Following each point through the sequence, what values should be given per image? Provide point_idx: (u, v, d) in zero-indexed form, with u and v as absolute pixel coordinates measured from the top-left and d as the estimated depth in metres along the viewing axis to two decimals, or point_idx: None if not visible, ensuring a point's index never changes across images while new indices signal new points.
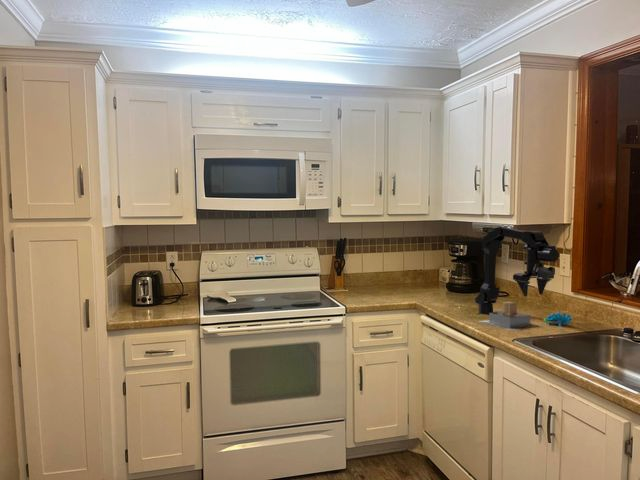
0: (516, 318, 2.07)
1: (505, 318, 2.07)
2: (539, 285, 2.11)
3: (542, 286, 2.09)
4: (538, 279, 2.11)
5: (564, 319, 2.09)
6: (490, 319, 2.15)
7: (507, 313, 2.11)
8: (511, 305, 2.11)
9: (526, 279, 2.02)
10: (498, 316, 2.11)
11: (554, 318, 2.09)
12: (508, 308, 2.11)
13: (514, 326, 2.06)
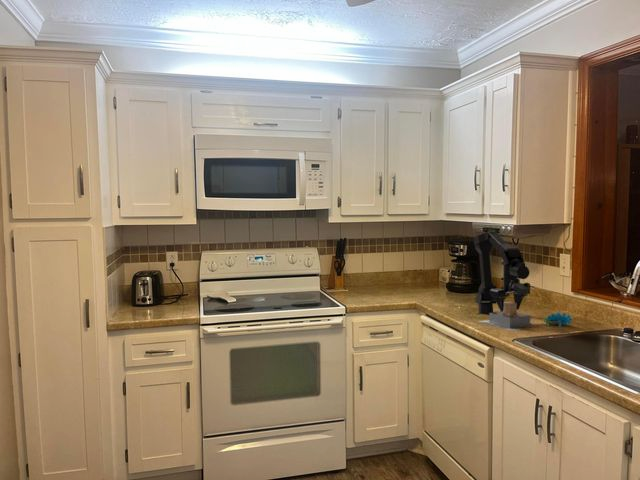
0: (516, 318, 2.07)
1: (505, 318, 2.07)
2: (515, 300, 2.16)
3: (518, 301, 2.14)
4: (515, 294, 2.16)
5: (564, 319, 2.08)
6: (490, 319, 2.15)
7: (507, 313, 2.11)
8: (511, 305, 2.11)
9: (502, 295, 2.06)
10: (498, 316, 2.11)
11: (554, 318, 2.09)
12: (508, 308, 2.11)
13: (514, 326, 2.06)
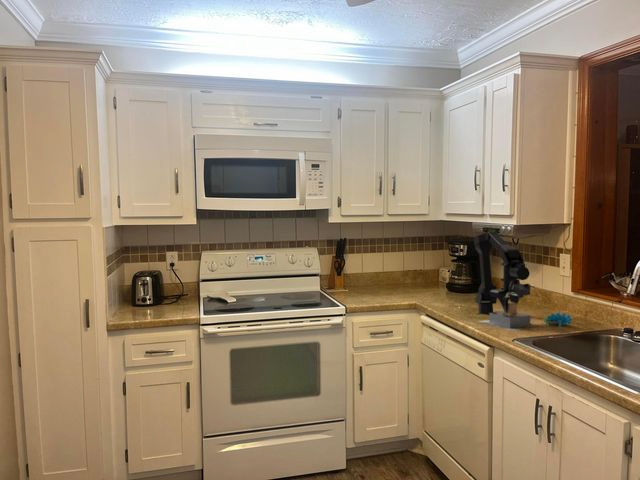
0: (516, 318, 2.07)
1: (505, 318, 2.07)
2: None
3: None
4: (511, 295, 2.15)
5: (564, 319, 2.08)
6: (490, 319, 2.15)
7: (507, 313, 2.11)
8: (511, 305, 2.11)
9: (502, 296, 2.06)
10: (498, 316, 2.11)
11: (554, 318, 2.09)
12: (508, 308, 2.11)
13: (514, 326, 2.06)
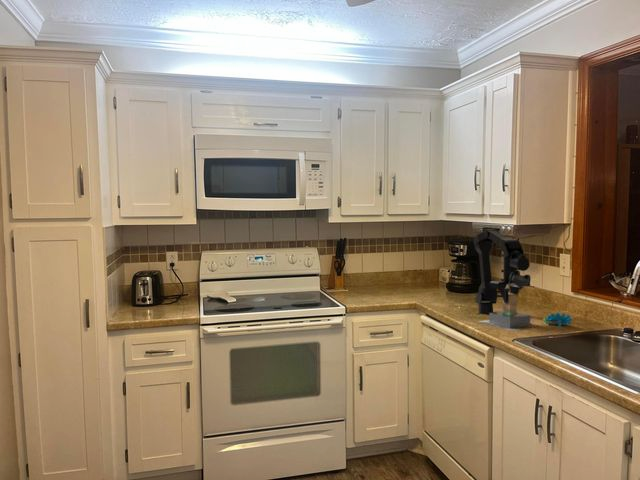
0: (516, 318, 2.07)
1: (505, 318, 2.07)
2: None
3: None
4: (511, 287, 2.15)
5: (564, 319, 2.08)
6: (490, 319, 2.15)
7: (507, 304, 2.11)
8: (512, 296, 2.10)
9: (502, 287, 2.06)
10: (498, 316, 2.11)
11: (554, 318, 2.09)
12: (508, 299, 2.11)
13: (514, 326, 2.06)
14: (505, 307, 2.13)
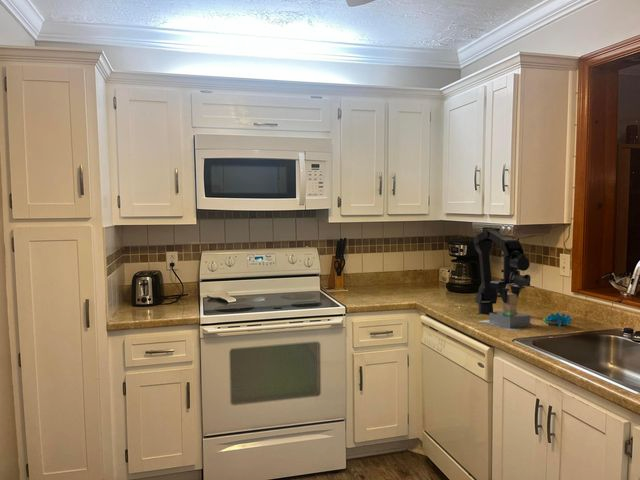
0: (516, 318, 2.07)
1: (505, 318, 2.07)
2: (513, 293, 2.14)
3: None
4: (512, 287, 2.15)
5: (564, 319, 2.08)
6: (490, 319, 2.15)
7: (507, 304, 2.11)
8: (512, 296, 2.10)
9: (502, 287, 2.06)
10: (498, 316, 2.11)
11: (554, 318, 2.09)
12: (508, 299, 2.11)
13: (514, 326, 2.06)
14: (505, 307, 2.13)
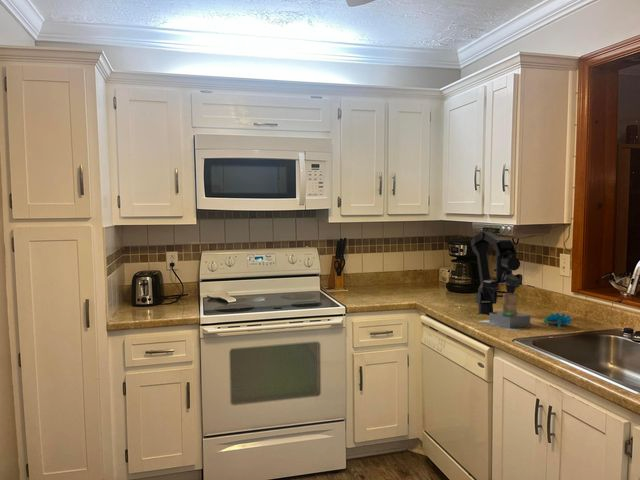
0: (516, 318, 2.07)
1: (505, 318, 2.07)
2: (508, 291, 2.19)
3: (511, 292, 2.18)
4: (507, 285, 2.20)
5: (564, 319, 2.08)
6: (490, 319, 2.15)
7: (507, 304, 2.11)
8: (512, 296, 2.10)
9: (494, 286, 2.10)
10: (498, 316, 2.11)
11: (553, 318, 2.09)
12: (508, 299, 2.11)
13: (514, 326, 2.06)
14: (505, 307, 2.13)
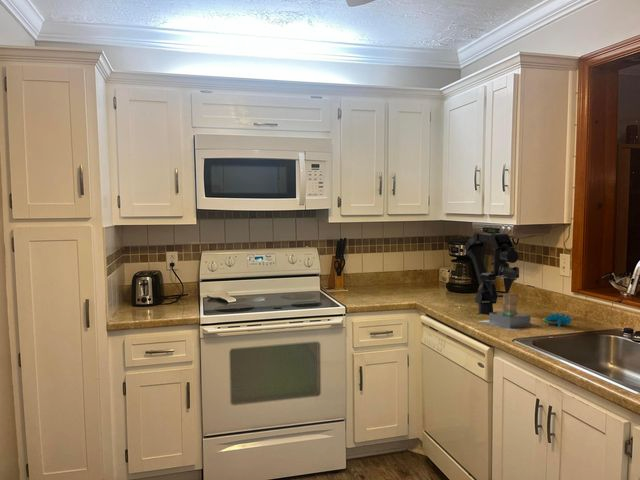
0: (516, 318, 2.07)
1: (505, 318, 2.07)
2: (505, 284, 2.24)
3: (508, 285, 2.23)
4: (505, 278, 2.25)
5: (564, 319, 2.08)
6: (490, 319, 2.15)
7: (507, 304, 2.11)
8: (512, 296, 2.10)
9: (492, 278, 2.15)
10: (498, 316, 2.11)
11: (553, 318, 2.09)
12: (508, 299, 2.11)
13: (514, 326, 2.06)
14: (505, 307, 2.13)
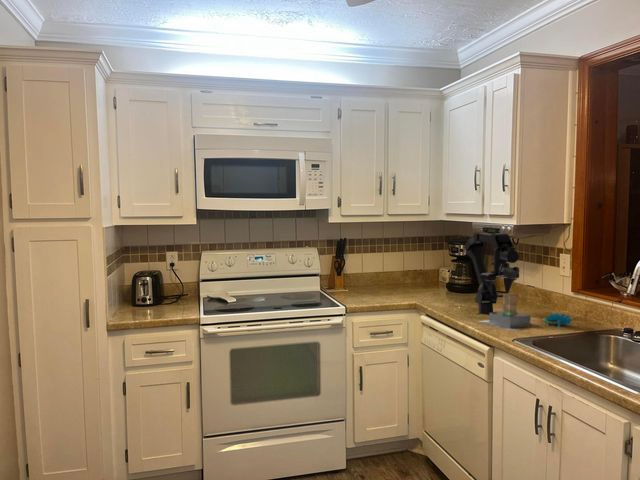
0: (516, 318, 2.07)
1: (505, 318, 2.07)
2: (505, 284, 2.24)
3: (508, 285, 2.23)
4: (505, 278, 2.25)
5: (563, 320, 2.08)
6: (490, 319, 2.15)
7: (507, 304, 2.11)
8: (512, 296, 2.10)
9: (492, 278, 2.15)
10: (498, 316, 2.11)
11: (553, 318, 2.09)
12: (508, 299, 2.11)
13: (514, 326, 2.06)
14: (505, 307, 2.13)
